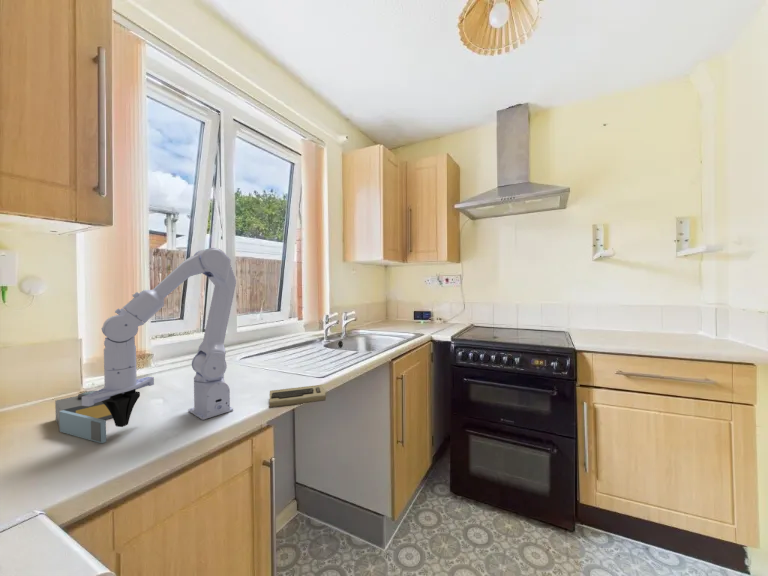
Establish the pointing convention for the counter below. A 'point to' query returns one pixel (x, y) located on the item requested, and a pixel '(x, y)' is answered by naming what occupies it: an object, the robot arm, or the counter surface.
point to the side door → (82, 426)
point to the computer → (296, 396)
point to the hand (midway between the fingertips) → (121, 425)
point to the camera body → (82, 407)
